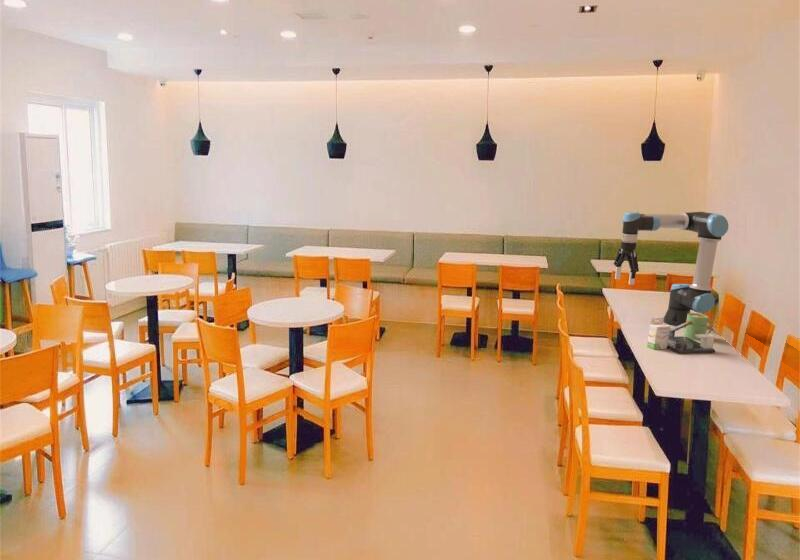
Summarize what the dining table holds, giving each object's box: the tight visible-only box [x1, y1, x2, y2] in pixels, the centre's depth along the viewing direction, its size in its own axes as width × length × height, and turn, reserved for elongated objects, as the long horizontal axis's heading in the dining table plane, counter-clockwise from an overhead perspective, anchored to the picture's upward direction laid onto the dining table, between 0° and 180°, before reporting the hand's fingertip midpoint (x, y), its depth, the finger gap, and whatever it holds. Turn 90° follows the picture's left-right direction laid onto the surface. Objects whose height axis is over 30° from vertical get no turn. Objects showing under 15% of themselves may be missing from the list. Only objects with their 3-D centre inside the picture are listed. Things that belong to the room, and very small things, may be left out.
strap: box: [669, 321, 693, 333], centre depth 312 cm, size 3×19×1 cm, turn 12°
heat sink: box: [668, 336, 689, 346], centre depth 312 cm, size 8×8×3 cm
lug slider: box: [695, 333, 715, 349], centre depth 306 cm, size 8×4×6 cm, turn 102°
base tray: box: [666, 327, 716, 355], centre depth 313 cm, size 20×22×6 cm
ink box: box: [646, 317, 671, 350], centre depth 308 cm, size 9×5×15 cm, turn 113°
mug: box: [683, 312, 713, 341], centre depth 330 cm, size 13×10×12 cm
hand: (624, 281), depth 329 cm, fingers open, 13 cm apart
